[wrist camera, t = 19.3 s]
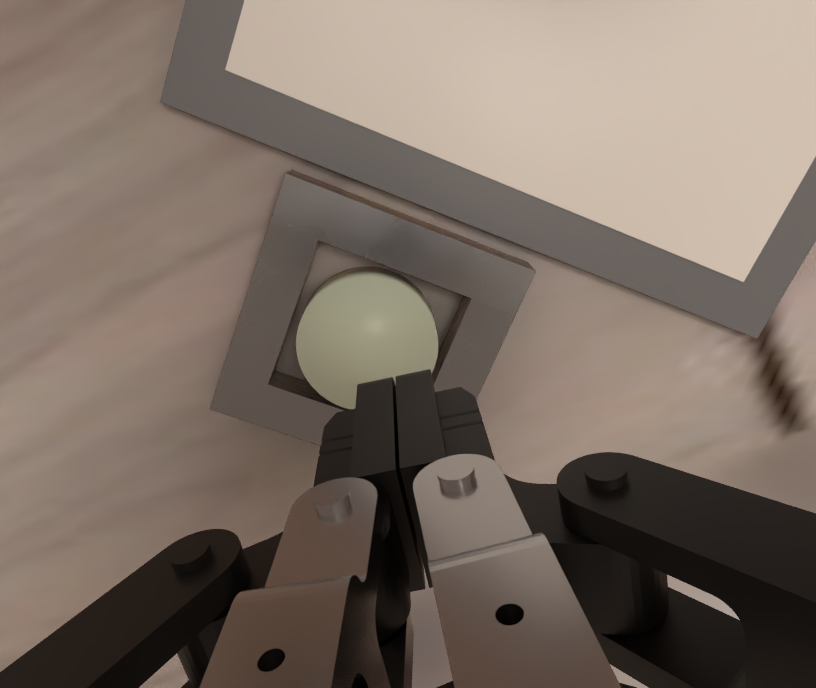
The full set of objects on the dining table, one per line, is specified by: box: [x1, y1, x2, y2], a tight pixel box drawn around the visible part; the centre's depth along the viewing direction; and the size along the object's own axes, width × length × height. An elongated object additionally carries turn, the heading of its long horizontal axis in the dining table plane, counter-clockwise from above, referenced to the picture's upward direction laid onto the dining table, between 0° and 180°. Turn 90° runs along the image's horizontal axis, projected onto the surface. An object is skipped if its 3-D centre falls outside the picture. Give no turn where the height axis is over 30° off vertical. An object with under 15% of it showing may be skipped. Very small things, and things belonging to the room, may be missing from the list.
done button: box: [296, 267, 438, 410], centre depth 21 cm, size 4×4×1 cm
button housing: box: [210, 170, 536, 446], centre depth 21 cm, size 8×8×1 cm
